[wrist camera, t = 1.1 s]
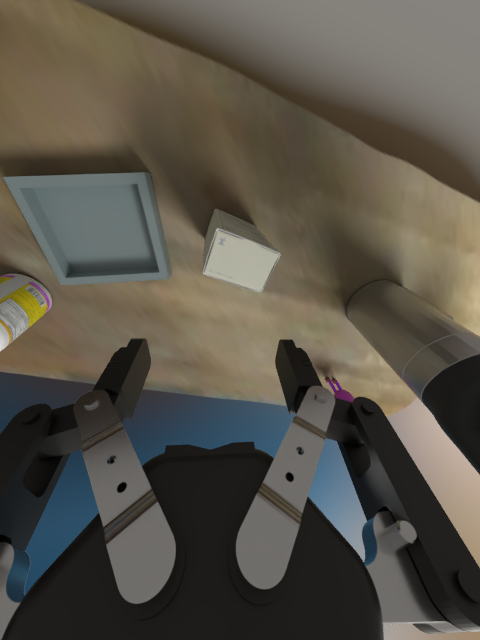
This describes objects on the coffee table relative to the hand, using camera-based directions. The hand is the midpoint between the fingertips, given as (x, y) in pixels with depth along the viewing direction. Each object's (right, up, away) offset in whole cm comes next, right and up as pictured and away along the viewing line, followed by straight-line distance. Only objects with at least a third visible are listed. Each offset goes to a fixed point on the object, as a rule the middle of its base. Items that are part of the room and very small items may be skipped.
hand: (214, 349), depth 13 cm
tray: (-15, +13, +14) cm, 25 cm away
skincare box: (0, +14, +16) cm, 21 cm away
